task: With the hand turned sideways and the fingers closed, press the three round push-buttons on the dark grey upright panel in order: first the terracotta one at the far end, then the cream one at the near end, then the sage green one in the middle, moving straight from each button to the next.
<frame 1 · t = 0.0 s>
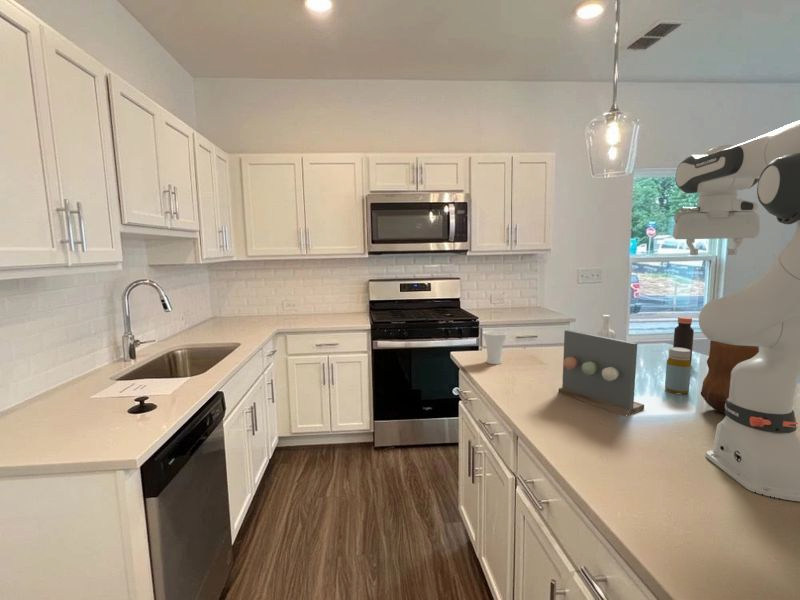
hand: (712, 254, 119), 48 cm above the worktop, tool pointing down, fingers open, 8 cm apart
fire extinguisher: (604, 381, 155), on the worktop
terracotta button: (570, 363, 137), point 12 cm above the worktop, slide at 0.0 cm
button panel: (595, 401, 134), on the worktop
cream button: (610, 373, 125), point 12 cm above the worktop, slide at 0.0 cm
vinegar: (681, 363, 176), on the worktop
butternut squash: (728, 413, 124), on the worktop
sage button: (589, 368, 131), point 12 cm above the worktop, slide at 0.0 cm
bottle: (676, 391, 143), on the worktop
cup: (494, 362, 182), on the worktop
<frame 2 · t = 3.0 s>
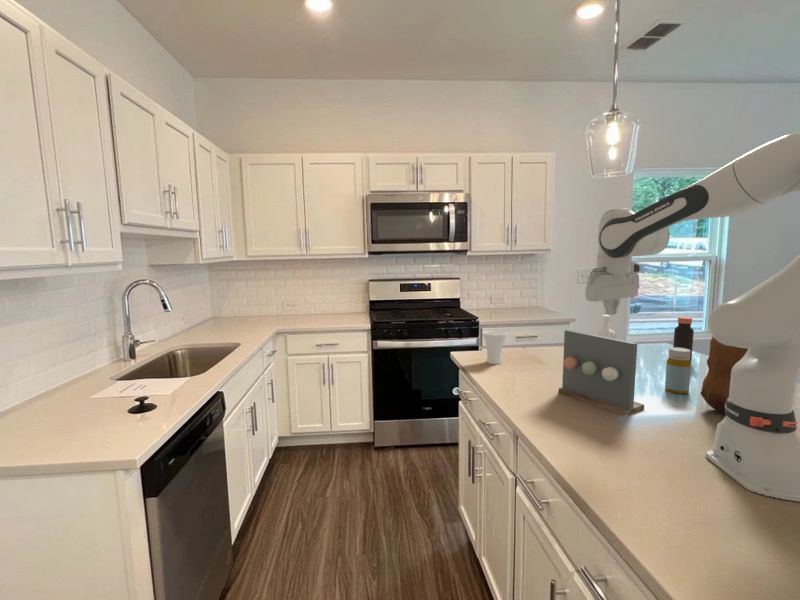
hand: (611, 314, 119), 31 cm above the worktop, tool pointing down, fingers closed
nothing on the worktop moved.
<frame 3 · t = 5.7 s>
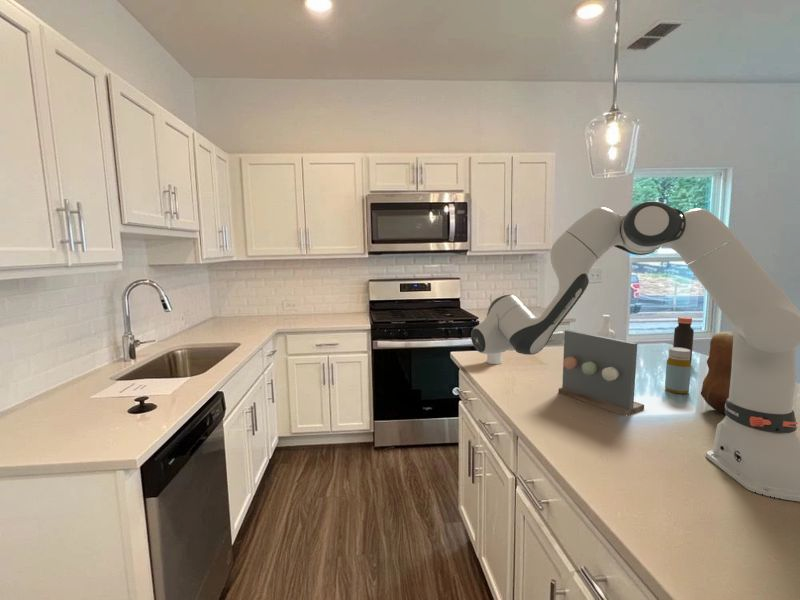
hand: (548, 330, 130), 25 cm above the worktop, tool horizontal, fingers closed
nothing on the worktop moved.
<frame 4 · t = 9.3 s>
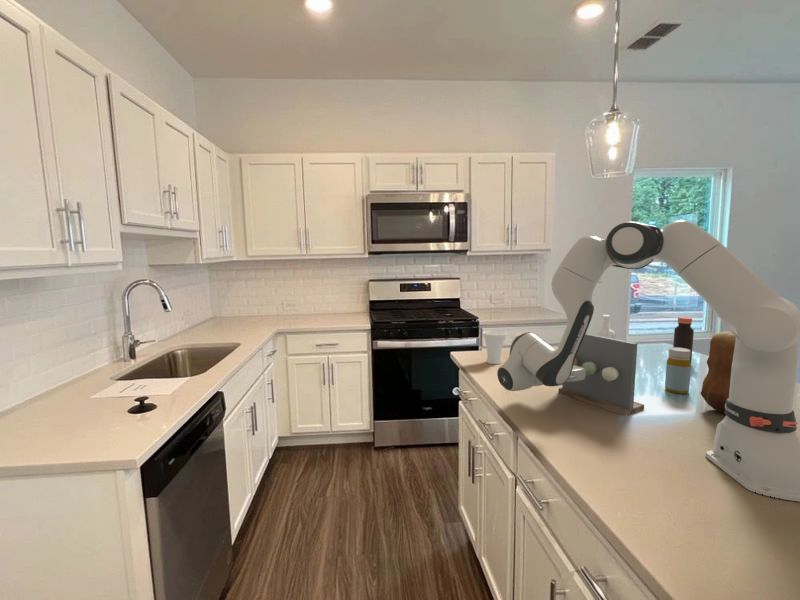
hand: (568, 363, 137), 12 cm above the worktop, tool horizontal, fingers closed, pressing on terracotta button
terracotta button: (571, 362, 137), point 12 cm above the worktop, slide at 0.2 cm, touching gripper
everything else where it was.
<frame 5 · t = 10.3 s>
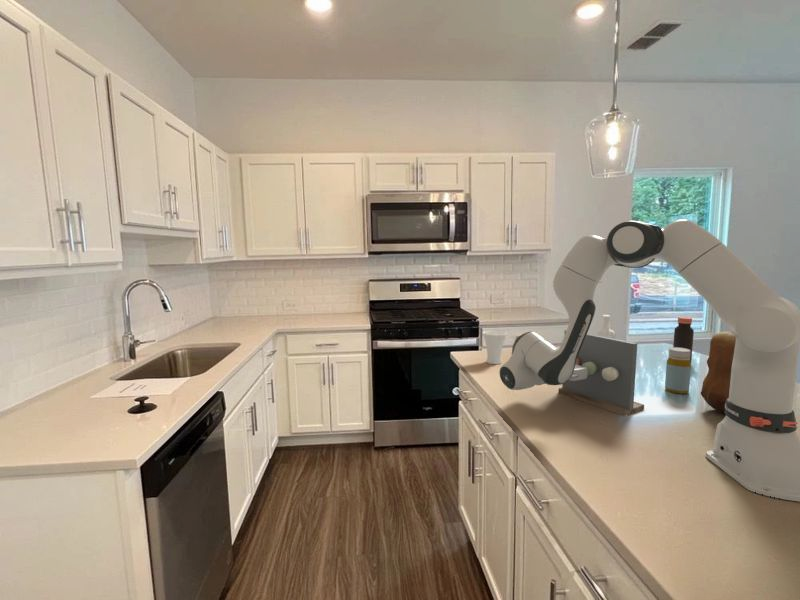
hand: (570, 363, 137), 12 cm above the worktop, tool horizontal, fingers closed
terracotta button: (573, 362, 138), point 12 cm above the worktop, slide at 1.3 cm
everything else where it was.
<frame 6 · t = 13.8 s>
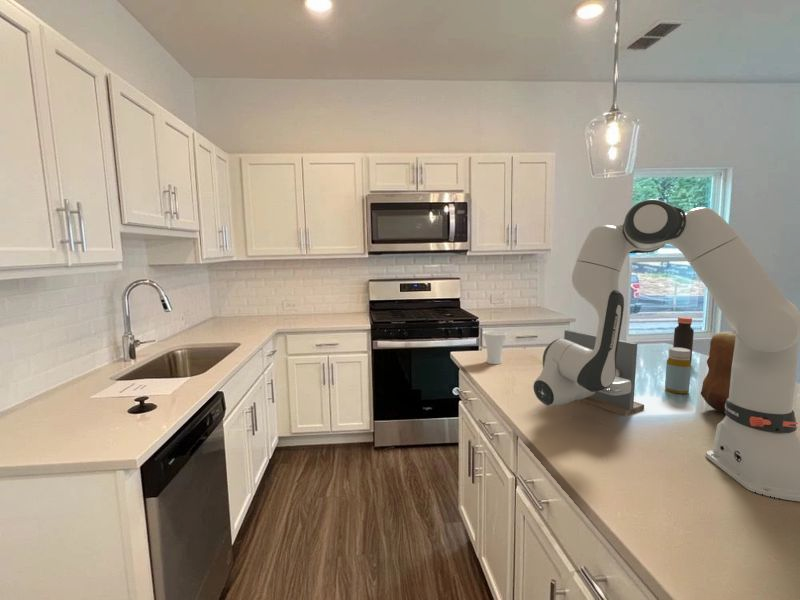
hand: (608, 374, 125), 12 cm above the worktop, tool horizontal, fingers closed, pressing on cream button
cream button: (611, 373, 125), point 12 cm above the worktop, slide at 0.4 cm, touching gripper
everything else where it was.
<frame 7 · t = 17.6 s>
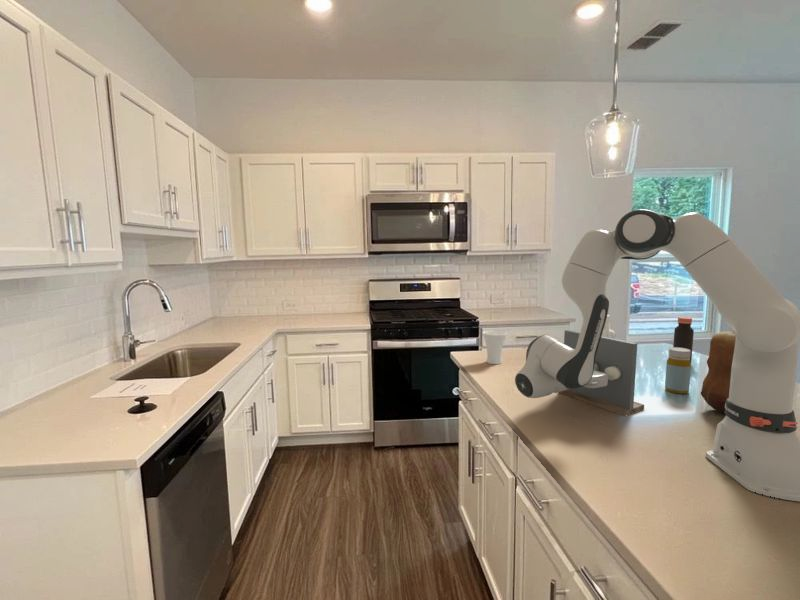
hand: (588, 368, 131), 12 cm above the worktop, tool horizontal, fingers closed, pressing on sage button
cream button: (612, 373, 126), point 12 cm above the worktop, slide at 1.3 cm
sage button: (590, 367, 131), point 12 cm above the worktop, slide at 0.5 cm, touching gripper
everything else where it was.
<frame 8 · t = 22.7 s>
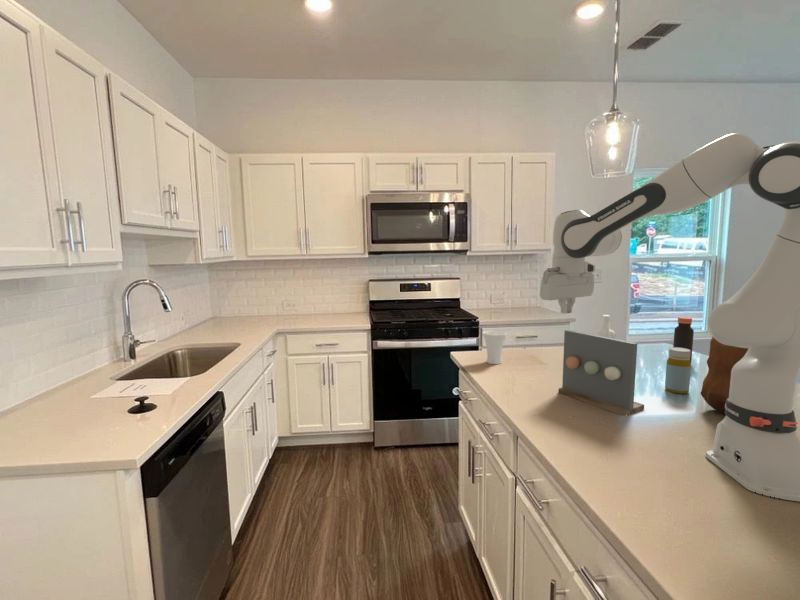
hand: (566, 313, 122), 31 cm above the worktop, tool pointing down, fingers closed
sage button: (592, 367, 132), point 12 cm above the worktop, slide at 1.3 cm
everything else where it was.
at the end: terracotta button slide at 1.3 cm; cream button slide at 1.3 cm; sage button slide at 1.3 cm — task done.
